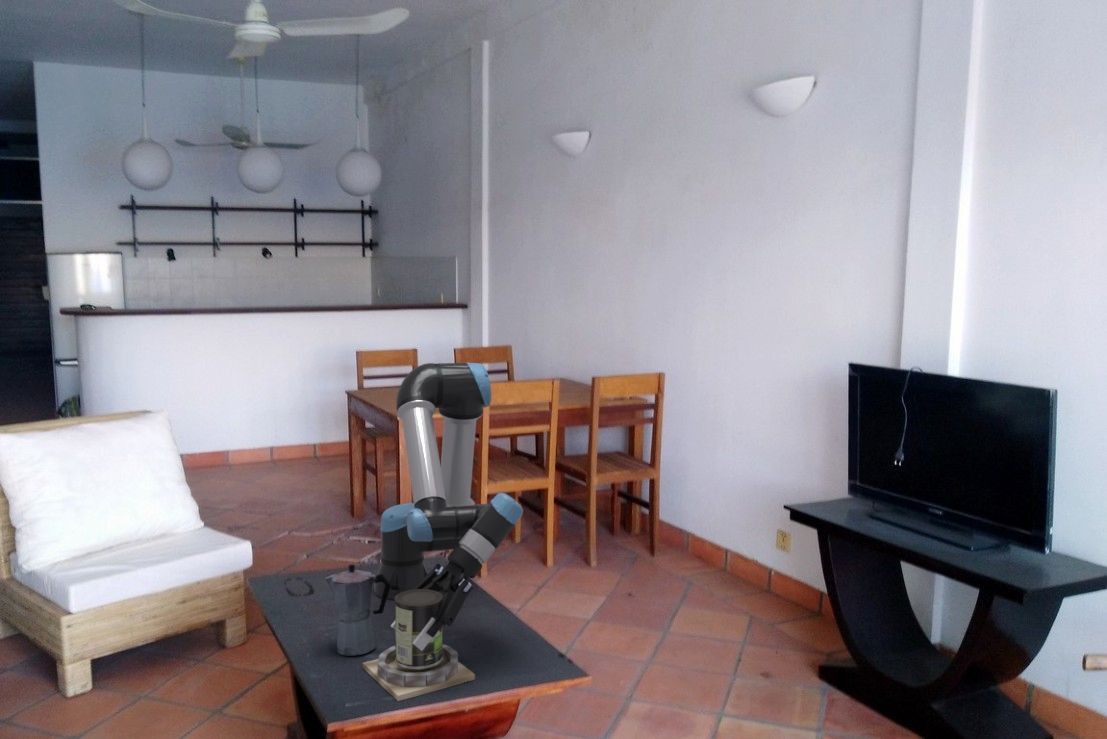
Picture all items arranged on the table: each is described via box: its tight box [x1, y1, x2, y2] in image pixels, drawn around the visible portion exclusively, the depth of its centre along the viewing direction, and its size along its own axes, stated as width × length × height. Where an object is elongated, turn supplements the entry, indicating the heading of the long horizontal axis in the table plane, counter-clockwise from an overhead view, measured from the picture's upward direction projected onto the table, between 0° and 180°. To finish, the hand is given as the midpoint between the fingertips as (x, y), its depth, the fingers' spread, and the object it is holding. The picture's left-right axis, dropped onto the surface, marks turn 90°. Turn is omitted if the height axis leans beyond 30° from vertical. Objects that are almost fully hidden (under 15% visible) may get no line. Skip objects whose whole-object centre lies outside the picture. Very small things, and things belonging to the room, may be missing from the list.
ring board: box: [362, 643, 476, 702], centre depth 192 cm, size 18×18×4 cm
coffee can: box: [394, 589, 444, 670], centre depth 191 cm, size 10×10×14 cm
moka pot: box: [324, 564, 390, 657], centre depth 203 cm, size 10×15×20 cm, turn 88°
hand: (405, 638), depth 189 cm, fingers closed on coffee can, 10 cm apart
